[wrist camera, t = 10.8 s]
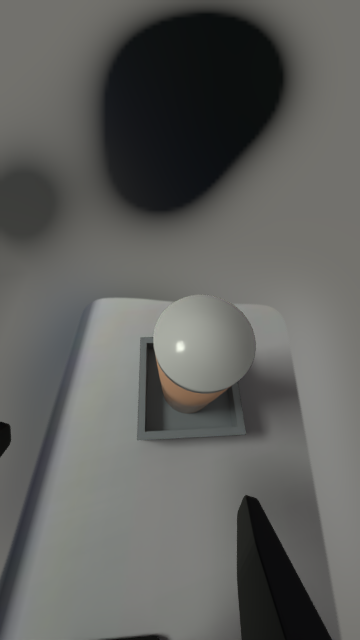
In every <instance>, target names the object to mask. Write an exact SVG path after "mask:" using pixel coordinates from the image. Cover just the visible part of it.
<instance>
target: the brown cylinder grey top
mask: <svg viewBox="0 0 360 640" xmlns="http://www.w3.org/2000/svg"><path fill="white" fill-rule="evenodd" d="M153 343H154V350H155V356H156V361H157V366H158V371H159V377H160V382H161V387H162V392H163V396H164V398H165V400H166V402H167V403H168V404H169V406H170V407H172V408H173V409H174V410H176V411H178V412H181V413H186V414H190V413H195V412H198V411H200V410H202V409H203V408H204V407H206V406H207V405H208V404H209V403H211V402H212V401H213V400H215V399H216V398H217V397H218V396H220V395H221V394H222V393H223V392H225V391H226V390H227V389H228V388H230V387H231V386H232V385H234V384H235V383H236V382H237V381H239V380H240V379H241V378H242V377H243V376H244V375H245V374H246V373H247V371H248V370H249V368H250V367H251V364H252V362H253V360H254V356H255V350H256V341H255V335H254V332H253V329H252V327H251V324H250V323H249V321H248V319H247V318H246V317H245V315H244V314H243V313H242V312H241V311H240V310H239V309H238V308H237V307H235V306H234V305H233V304H231V303H230V302H228V301H226V300H223V299H221V298H218V297H215V296H210V295H193V296H188V297H185V298H182V299H180V300H178V301H176V302H174V303H172V304H171V305H170V306H169V307H167V308H166V309H165V311H164V312H163V313H162V314H161V316H160V317H159V319H158V321H157V323H156V326H155V330H154V336H153Z"/></svg>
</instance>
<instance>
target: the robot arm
mask: <svg viewBox="0 0 360 640" xmlns="http://www.w3.org/2000/svg"><path fill="white" fill-rule="evenodd" d="M10 442H11V429H10V425H9V424H7V423H4V422H0V457H1V456H2V454H3V453H4V452H5V450H6V449H7V448H8V446H9V445H10ZM237 584H238V598H239V611H240V624H241V637H242V640H332V639H331V637H330V635H329V633H328V631H327V629H326V627H325V626H324V624H323V622H322V620H321V618H320V616H319V614H318V612H317V610H316V609H315V607H314V605H313V603H312V601H311V599H310V597H309V595H308V593H307V592H306V590H305V588H304V586H303V584H302V582H301V580H300V578H299V576H298V575H297V573H296V571H295V569H294V567H293V565H292V563H291V561H290V559H289V557H288V556H287V554H286V552H285V550H284V548H283V546H282V544H281V542H280V540H279V539H278V537H277V535H276V533H275V531H274V529H273V527H272V525H271V523H270V522H269V520H268V518H267V516H266V514H265V512H264V510H263V508H262V506H261V505H260V503H259V501H258V500H257V499H256V498H254V497H251V496H248V495H246V496H244V498H243V500H242V503H241V505H240V507H239V510H238V515H237ZM120 640H159V638H158V637H156V636H149V637H139V638H129V639H120Z"/></svg>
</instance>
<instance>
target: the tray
mask: <svg viewBox="0 0 360 640" xmlns="http://www.w3.org/2000/svg"><path fill="white" fill-rule="evenodd" d="M227 435H246V431H245V424H244V418H243V412H242V406H241V399H240V393H239V387H238V381H237V382H236V383H235V384H234V385H232V386H231V387H230V388H228V389H227V390H226V391H225V392H223V393H222V394H221V395H220V396H218V397H217V398H216V399H215V400H213V401H212V402H211V403H209V404H208V405H207V406H206V407H204V408H203V409H202V410H200V411H198V412H195V413H190V414H186V413H181V412H178V411H176V410H174V409H173V408H172V407H170V406H169V404H168V403H167V402H166V400H165V398H164V396H163V392H162V387H161V382H160V377H159V371H158V366H157V361H156V356H155V350H154V343H153V337H141V340H140V370H139V400H138V430H137V440H153V439H172V438H190V437H209V436H227Z"/></svg>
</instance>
